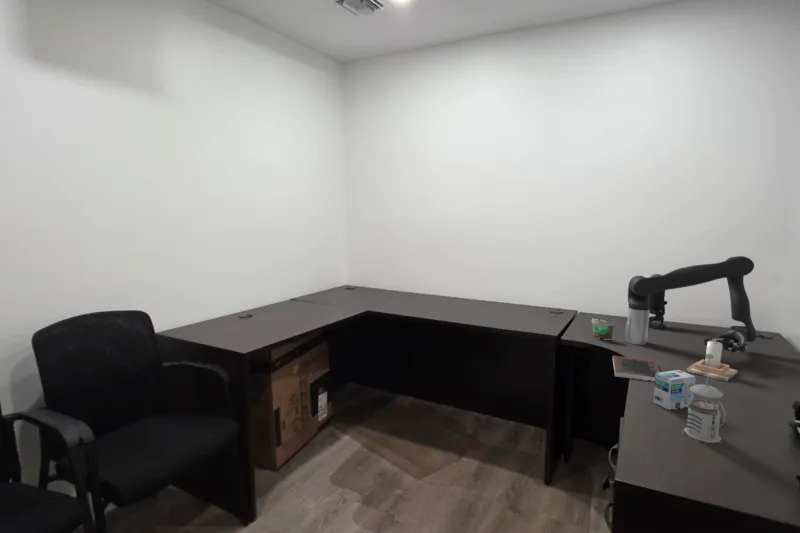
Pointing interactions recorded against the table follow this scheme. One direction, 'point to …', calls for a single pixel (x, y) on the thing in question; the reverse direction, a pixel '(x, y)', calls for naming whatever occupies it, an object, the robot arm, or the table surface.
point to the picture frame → (635, 368)
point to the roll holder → (712, 370)
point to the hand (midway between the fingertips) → (720, 347)
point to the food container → (602, 328)
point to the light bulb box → (673, 389)
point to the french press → (704, 427)
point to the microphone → (657, 308)
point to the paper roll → (714, 354)
